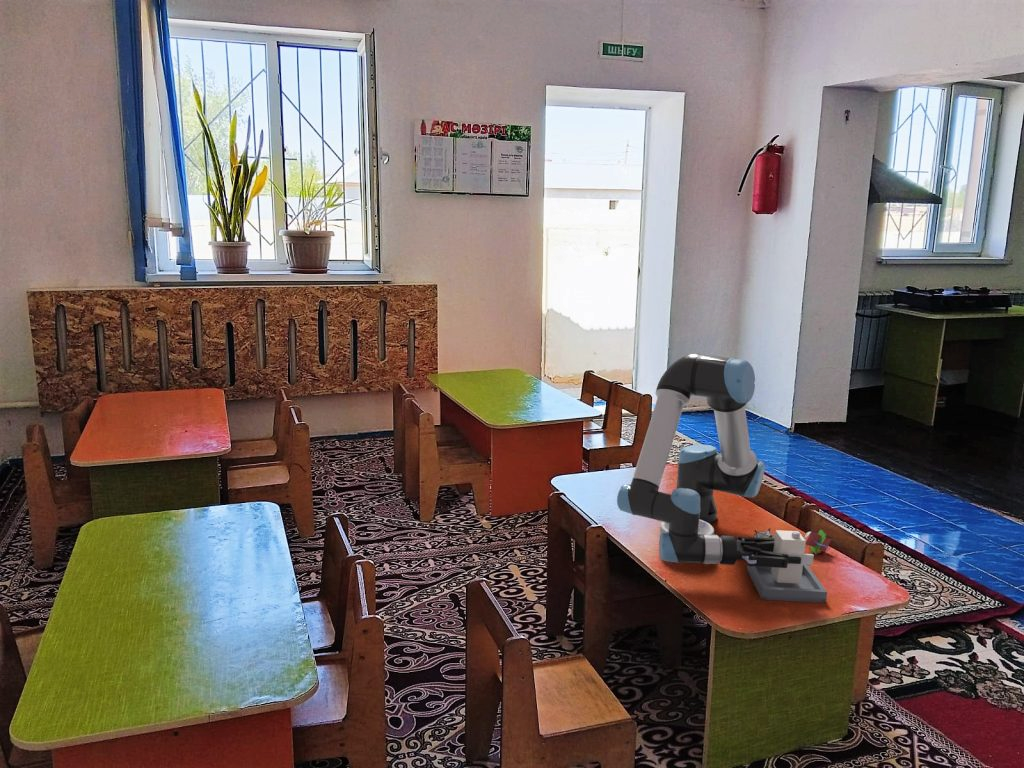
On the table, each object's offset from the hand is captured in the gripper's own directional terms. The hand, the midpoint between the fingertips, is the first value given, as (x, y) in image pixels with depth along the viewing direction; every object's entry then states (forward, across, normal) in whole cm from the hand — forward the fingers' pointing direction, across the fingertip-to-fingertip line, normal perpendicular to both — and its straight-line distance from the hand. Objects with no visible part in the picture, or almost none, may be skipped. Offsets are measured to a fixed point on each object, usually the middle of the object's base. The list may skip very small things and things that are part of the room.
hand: (808, 553), depth 201 cm
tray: (-5, 0, -10) cm, 11 cm away
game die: (-6, -18, -10) cm, 21 cm away
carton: (-5, 0, -7) cm, 9 cm away
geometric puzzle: (+11, -23, -10) cm, 27 cm away
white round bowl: (-28, -19, -10) cm, 35 cm away
